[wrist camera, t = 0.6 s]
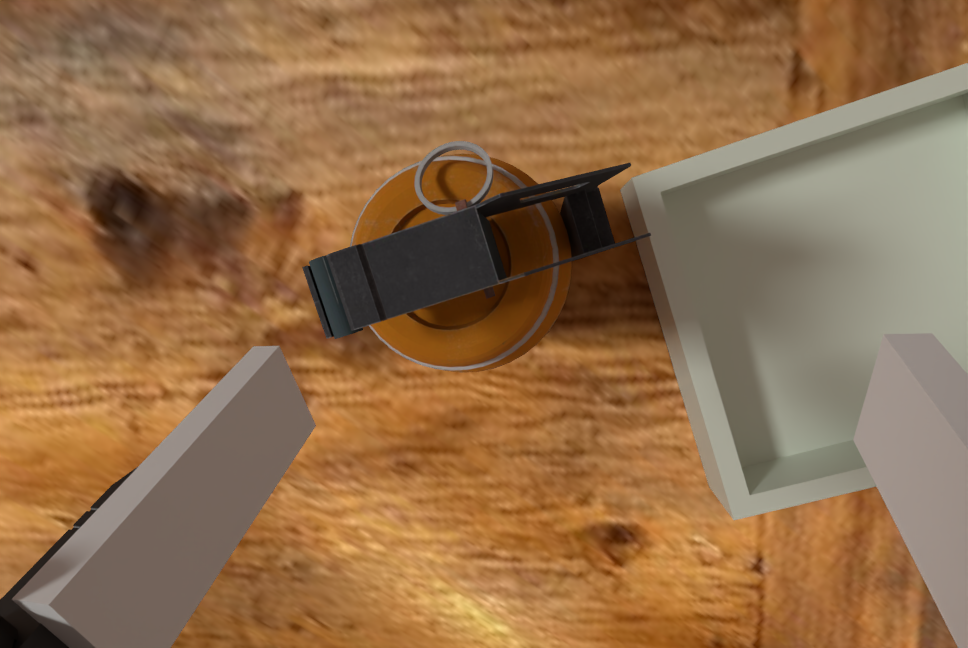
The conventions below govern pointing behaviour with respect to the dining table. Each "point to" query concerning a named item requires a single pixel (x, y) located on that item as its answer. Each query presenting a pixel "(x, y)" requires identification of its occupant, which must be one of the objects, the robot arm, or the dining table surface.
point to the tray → (806, 281)
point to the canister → (462, 259)
